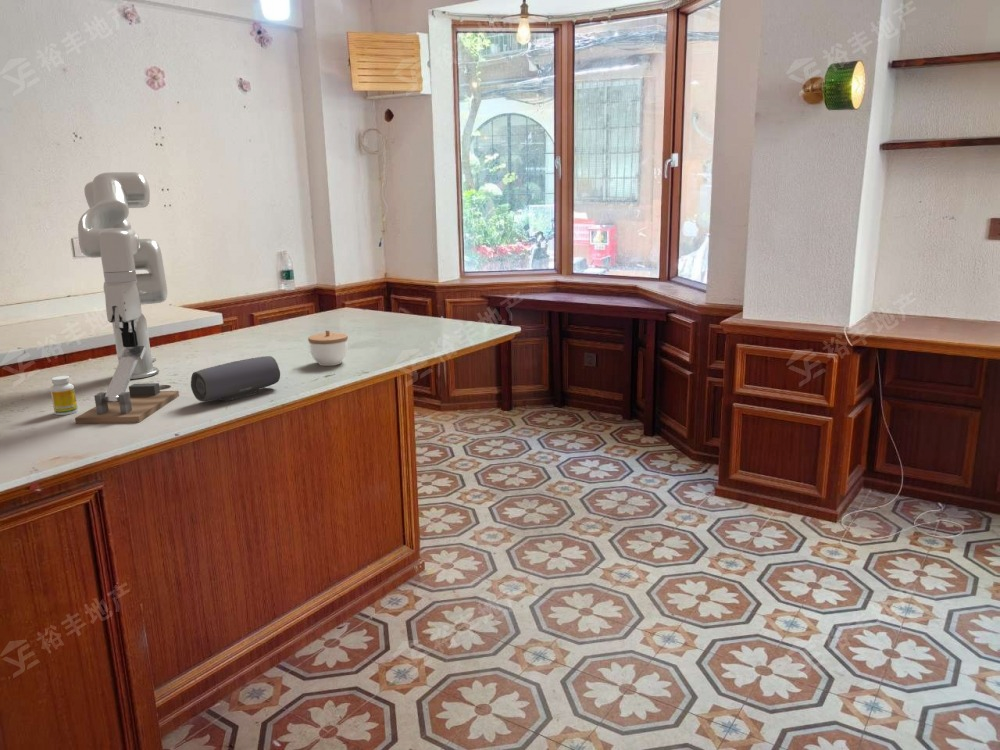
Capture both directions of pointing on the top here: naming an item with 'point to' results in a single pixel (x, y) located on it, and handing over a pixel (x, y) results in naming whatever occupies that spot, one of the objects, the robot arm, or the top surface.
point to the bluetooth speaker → (234, 379)
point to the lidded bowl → (328, 348)
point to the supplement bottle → (63, 396)
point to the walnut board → (125, 408)
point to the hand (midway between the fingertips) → (130, 346)
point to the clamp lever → (123, 372)
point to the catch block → (144, 389)
